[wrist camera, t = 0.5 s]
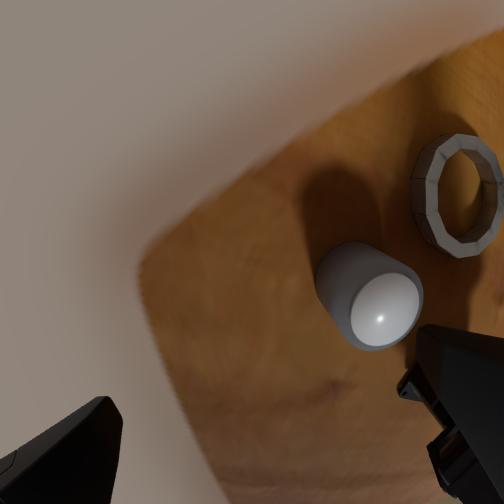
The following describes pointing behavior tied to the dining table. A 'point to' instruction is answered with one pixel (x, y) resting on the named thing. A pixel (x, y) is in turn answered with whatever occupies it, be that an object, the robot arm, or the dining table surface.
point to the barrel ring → (426, 194)
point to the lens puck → (369, 295)
